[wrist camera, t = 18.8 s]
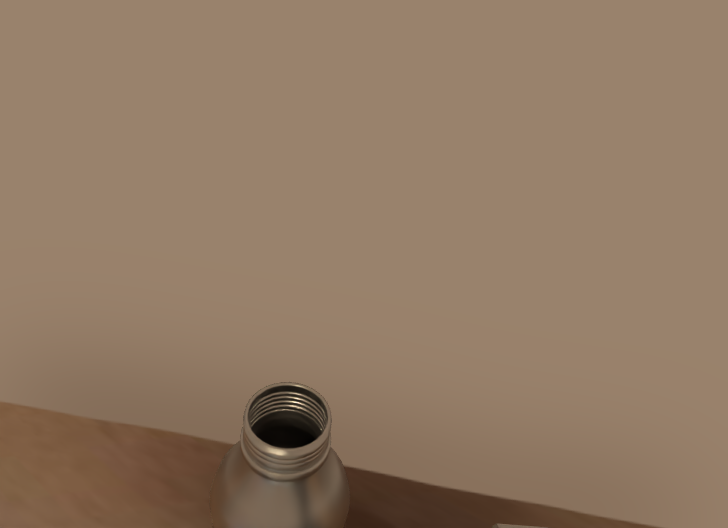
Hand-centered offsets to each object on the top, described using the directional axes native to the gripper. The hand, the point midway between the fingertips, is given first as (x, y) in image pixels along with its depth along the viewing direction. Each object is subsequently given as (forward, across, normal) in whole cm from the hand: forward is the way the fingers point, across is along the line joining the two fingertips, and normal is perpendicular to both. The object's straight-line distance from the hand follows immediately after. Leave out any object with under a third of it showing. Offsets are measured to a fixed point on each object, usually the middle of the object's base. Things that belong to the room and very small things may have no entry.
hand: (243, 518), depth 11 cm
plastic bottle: (+12, 0, +31) cm, 33 cm away
